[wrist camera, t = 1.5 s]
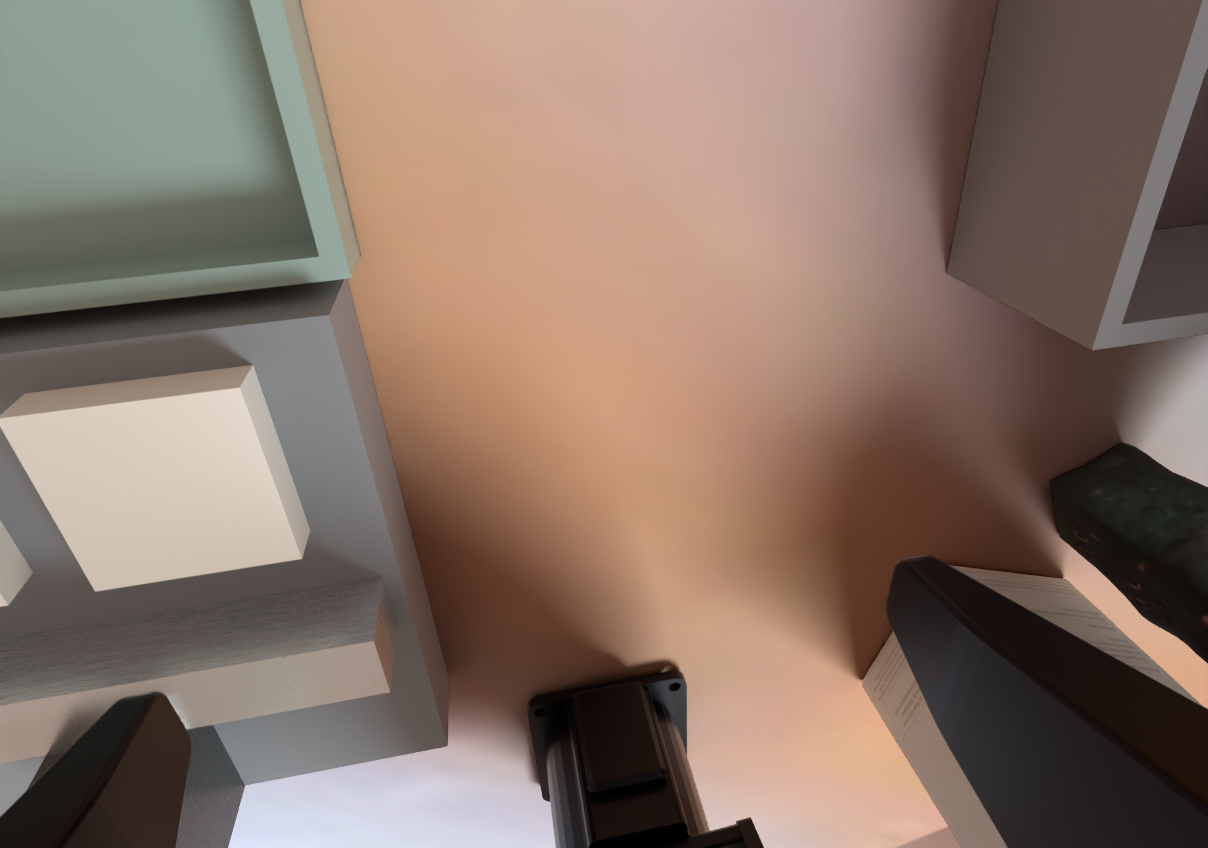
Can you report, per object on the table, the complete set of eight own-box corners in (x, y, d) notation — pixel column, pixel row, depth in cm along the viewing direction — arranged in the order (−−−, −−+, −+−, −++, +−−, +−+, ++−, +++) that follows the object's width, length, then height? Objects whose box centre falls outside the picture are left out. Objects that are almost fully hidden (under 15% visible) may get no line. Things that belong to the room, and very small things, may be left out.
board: (448, 677, 27) (447, 746, 25) (-4, 759, 25) (-56, 843, 23) (346, 274, 19) (329, 315, 17) (-333, 351, 17) (-471, 410, 15)
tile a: (310, 529, 19) (302, 559, 18) (115, 560, 19) (95, 592, 18) (252, 364, 17) (239, 387, 16) (24, 393, 16) (-5, 419, 15)
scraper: (433, 749, 25) (429, 867, 21) (-39, 840, 23) (-127, 985, 19) (382, 575, 21) (367, 687, 17) (-197, 670, 19) (-343, 816, 15)
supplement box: (854, 684, 32) (1055, 1024, 21) (935, 556, 29) (1220, 882, 18) (983, 693, 34) (1225, 1007, 23) (1071, 576, 31) (1400, 877, 20)
